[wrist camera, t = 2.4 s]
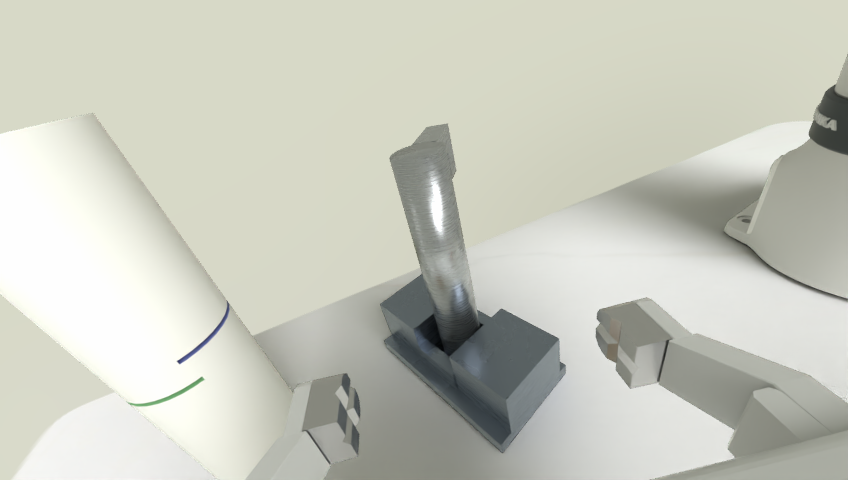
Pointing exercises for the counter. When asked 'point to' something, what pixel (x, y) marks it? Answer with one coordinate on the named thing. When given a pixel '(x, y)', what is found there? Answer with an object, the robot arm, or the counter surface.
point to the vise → (477, 363)
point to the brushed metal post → (438, 232)
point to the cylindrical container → (131, 295)
